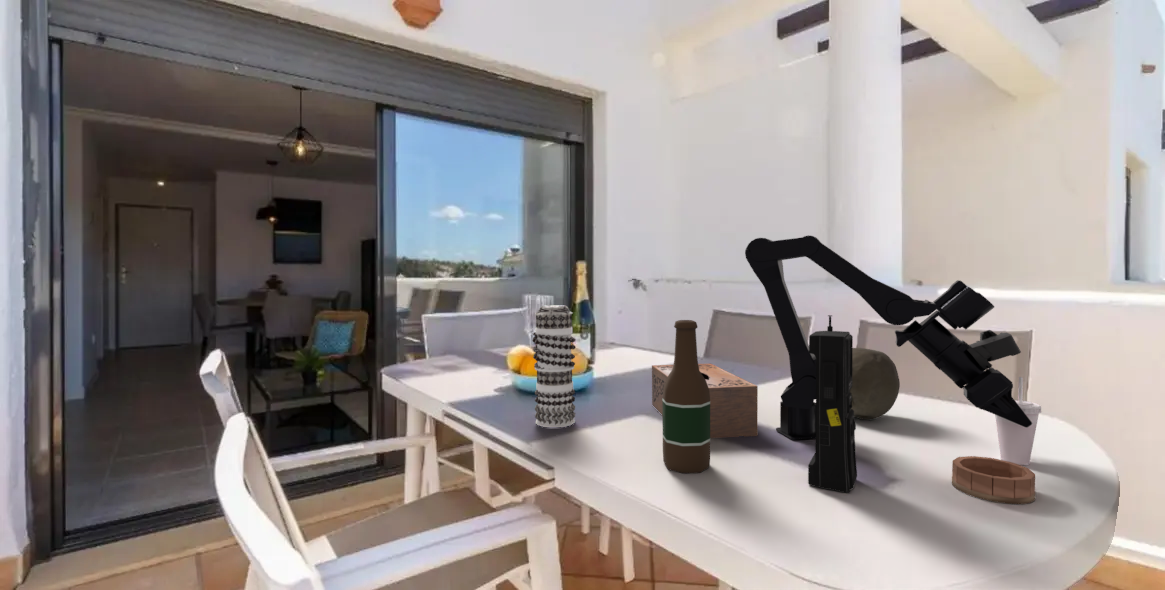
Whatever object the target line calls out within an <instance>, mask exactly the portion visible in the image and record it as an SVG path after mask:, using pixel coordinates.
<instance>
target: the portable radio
mask: <svg viewBox="0 0 1165 590" xmlns="http://www.w3.org/2000/svg"><path fill="white" fill-rule="evenodd" d="M827 317H828V326H827V327H826V329H827V330H818V331H814V332H813V333H811V334H809V336H808V337H809V339H808V345H809V353H811V354H814V355H815V357H816V399H815V403H816V438H815V443H814V445H815V447H814V448H815V449H814V451H815V452H814V454H813V456H812V458H811V460H810V461H809V463H808V465H807V466H808V467H807V468H808V470H807V472H808V473H807V483H808V485H810V486H813V487H816V488H820V489H825V490H829V491H830V490H831V491H836V492H841V493H846V494H847V493H848V494H849V493H850V491H851V490H853V489H854V487H855V485H856V482H857V477H858V470H857V469H858V468H857V460H856V459H857V458H856V438H855V436H856V435H855V431H856V428H857V424H856V419H855V417H854V410H852V409H851V408H852V393H851V392H850V390H851V388H852V362H853V348H854V347H853V345H854V343H853V342H854V341H853V337H854V336H853V335H852V334H851V333H850V332H849V331H842V330H841V331H839V330H833V329H834V328H833V326H832V317H833V315H830V314H829V315H827Z"/></svg>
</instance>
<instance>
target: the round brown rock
mask: <svg viewBox="0 0 1165 590" xmlns="http://www.w3.org/2000/svg"><path fill="white" fill-rule="evenodd" d="M900 387H901V385H900V377H899V372H898V368H897V367H896V364H895V362H894V361H893V359H891V357H890V356H889V355H887V354H886V353H885V352H883V351H880V350H875V349H871V348H863V347H853V362H852V388H851V390H850V392H851V393H852V408H851V409H852V410H854V418H856V419H860V420H863V421H864V420H867V421H870V420H876V419H878V418H881V417H883V416H884V415H885V414H887V413H888V412H889V411H890V410H891V409H892V408H893V406H894V405H895V403H896V401H897V399H898V396H899V392H900Z"/></svg>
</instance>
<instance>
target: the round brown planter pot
mask: <svg viewBox="0 0 1165 590" xmlns="http://www.w3.org/2000/svg"><path fill="white" fill-rule="evenodd" d="M951 463H952V465H951V466H952V467H951V468H952V469H951V470H952V471H951V472H952V473H951V486H953V487H954V488H955V489H956V490H958V491H959V492H961V493H963V494H966V495H967V496H970V495H971V497H973V496H974V498H976V497H977V498H976V499H980V500H984V501H989V502H993V503H999V504H1004V505H1005V504H1007V505H1026V504H1032V503H1033V502H1035V501H1036V473H1034V472H1033V471H1032V470H1031V469H1030V468H1028V467H1026V466H1024V465H1018V464H1015V463H1012V462H1008V461H1004V460H1001V459H999V458H993V457H987V456H986V457H985V456H976V455H973V456H972V455H971V456H970V455H968V456H967V455H966V456H959V457H958V456H957V457H956V458H955V459H953V460H952V462H951Z"/></svg>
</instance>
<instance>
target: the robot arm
mask: <svg viewBox="0 0 1165 590" xmlns="http://www.w3.org/2000/svg"><path fill="white" fill-rule="evenodd" d="M744 256H745V259H746V261H747V262H748V264H749V266H750V268H751V269H752V272H754V274H755V276H756V277H757V279H758V280H759V281H760V283H761V284H762V286H763V287H764V290H765V292H766V295H767V298H768V302H769V303H770V307H771V309H772V312H773V315H774V318H775V320H776V323H777V325H778V327H779V331H780V333H781V336H782V339H783V342H784V344H785V347H786V350H787V354H788V359H789V368H790V376H791V381H792V382H791V383H789V384H788V385H787V386H785V389H784V390H783V392H782V393H781V395H780V399H781V401H780V402H779V403H780V405H779V410H780V414H779V416H780V418H779V421H780V424H779V427H776V428H775V431H776V432H778V433H780V434H781V435H783V436H785V437H787V438H789V439H790V440H794V441H795V440H812V439H816V401H815V400H816V357H815V355H814V354H811V353H809V341H808V340H807V337H806V334H805V332H804V329H803V326H802V324H801V322H800V319H799V316H798V313H797V311H796V307H795V305H794V302H793V299H792V297H791V294H790V291H789V289H788V285H787V283H786V281H785V275H784V265H783V264H784V263H783V261H785V260H791V259H798V258H808V259H809V260H810V261H812V262H813V263H814V264H816V265H817V266H819V267H820V268H822V269H823V270H824V271H826V272H828V273H829V274H830V275H831V276H833V277H834V278H836V279H837V280H838V281H839V282H841V283H843V284H844V285H846V286H847V287H848V288H850V289H851V290H853V291H854V292H856V293H857V294H858V296H860V297H861V298H862V300H864V301H865V302H866V303H867V304H868V305H869V306H870V308H872V309H873V310H874V311H875V313H877V315H879V316H880V317H881V318H882V319H883V320H884V322H886V323H888V324H889V325H892V326H903V325H906V324H909V323H910V322H911V323H910V324H909V325H907V327H905V328H904V329H902V330H899V329H895V330H894V334H895V345H896V347H899V348H900V347H901V346H903V345H904V344H905V343H907V342H909V343H910V344H911V345H912V346H914V348H916V350H918V351H919V352H920V353H921V354H922V355H923V356H924V357H926V359H928V360H929V361H930V362H931V363H932V364H933V366H935V367H936V368H937V369H938V370H939V371H941V373H943V374H945V376H947V377H948V378H949V379H950V380H951V381H952V382H953V383H954V384H955V385H956V386H957V387H958V388H960V389H962V390H963V396H964V397H965V398H966V400H967V401H969V402H970V403H971V404H972V406H974V407H976V408H977V409H979V410H983V411H985V412H987V413H990V414H993V415H994V416H995V415H997V416H1000V417H1002V418H1005V419H1007V420H1009V421H1012V422H1014V423H1016V424H1019V425H1021V426H1023V427H1029V426H1030V425H1032V422H1031V421H1030V419H1029V418H1028V417H1027V416H1026V414H1025V413H1024V412H1023V410H1022V409H1021V408H1020V407H1019V405H1018V404H1017V403H1016V401H1015V400H1016V399H1014V398H1013V395H1012V394H1013V393H1012V392H1013V388H1014V383H1013V381H1011V380H1010V379H1009V378H1008V377H1007V376H1006V375H1004V373H1002V372H1001V371H1000V370H998V369H995V368H994V367H993V364H991V362H994V361H996V360H1000V359H1003V358H1007V357H1009V356H1012V357H1014V356H1016V355H1019V354H1021V353H1022V351H1021V350H1020V347H1019V346H1018V344H1017V342H1016V340H1015V338H1014V337H1013V335H1012V334H1011V333H1009V332H999V333H996V332H994V331H993V330H991V329H988V330H984V331H981V332H980V334H979V340H976V341H975V342H973V343H970V344H968V343H967V342H966V341H965V340H963V339H962V340H961V339H960V338H959V337H958V336H956V335H955V334H954V333H953V332H952V331H951V330H949V329H948V328H947V327H946V326H945V325H943V324H942V323H941V322H940V321H939V320H938V319H937V318H938V317H939V318H940V319H941V320H942V321H944V322H945V323H946V324H947V325H949V327H951V328H952V329H954V330H957V329H963V330H965V331H966V330H968V329H969V328H970V327H971V326H973V325H974V324H975V323H976V322H978V321H979V320H980V319H981V318H983V317H984V316H985V315H987V314H988V313H989V312H991V311H992V310H993V309H995V305H994V304H993V303H992V302H991V301H990V300H989V299H987V298H986V297H985V296H984V295H983V294H981V293H980V292H978V291H976V290H974V289H973V288H972V287H970V286H969V285H967V284H966V283H964V281H962V280H959V279H958V280H956V281H954V283H952V284H951V285H950V286H949V288H948V289H947V290H946V291H944V292H943V293H942V294H941V295H939V297H937V298H936V299H934V300H933V301H929V300H928V299H925V300H919V299H914V298H912V297H911V296H910V295H909V294H906V293H905V292H903V291H901V290H899V289H896V288H894V287H892V286H890V285H888V284H886V283H884V282H881V281H880V280H877V279H875V278H873V277H871V276H870V275H868V274H867V273H865V272H864V271H862V270H861V269H859V268H858V267H856V266H855V265H854V264H853V263H851V262H850V261H848V260H846V258H844V257H843V256H840V255H839V254H838V253H837V252H835V251H833V250H832V249H831V248H830V247H828V246H827V245H825V244H823V243H822V242H821V241H820V240H819V238H817V237H816V236H814V235H804V236H802V237H796V238H795V237H793V238H787V239H779V240H772V239H769V238H766V237H757V238H754V239H752V240H751V241H750V242H749V243H748V244H747V246H746V248H745V251H744ZM926 316H928V317H926ZM919 317H926V318H925V319H924V320H922V321H920V323H919V321H917V320H914V318H919Z"/></svg>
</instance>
